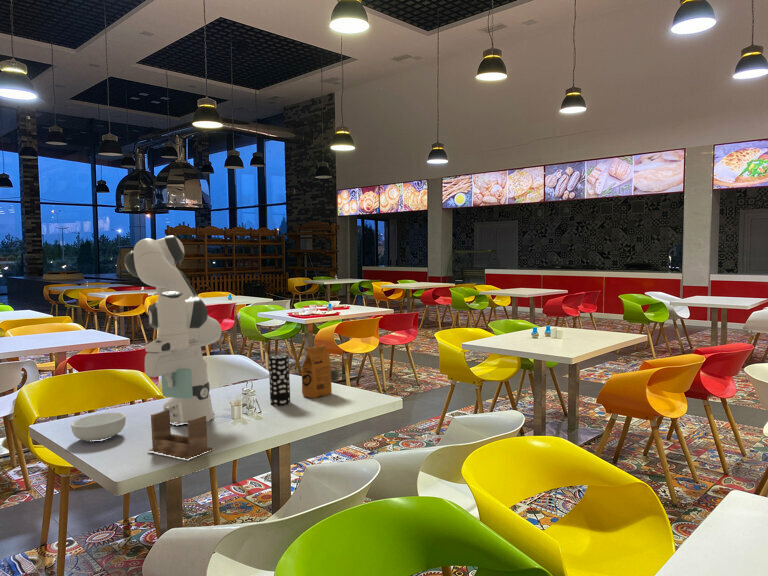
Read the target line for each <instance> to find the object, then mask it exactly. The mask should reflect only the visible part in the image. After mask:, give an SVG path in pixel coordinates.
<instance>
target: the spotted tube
mask: <svg viewBox="0 0 768 576" xmlns="http://www.w3.org/2000/svg"><path fill="white" fill-rule="evenodd" d="M289 358H290V357H289V355H287V354H286V355H285V354H278V355H271V356H269V357H268V374H269V375H268V376H269V396H270V397H269V398H270V406H273V407H282V406H283V407H284V406H288V405H290V404H291V386H290V385H291V384H290V383H291V382H290V361H289V360H290V359H289Z"/></svg>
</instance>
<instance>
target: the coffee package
mask: <svg viewBox="0 0 768 576" xmlns="http://www.w3.org/2000/svg"><path fill="white" fill-rule="evenodd" d="M305 351H306V356H305V360H304V361H303V364H302V367H301V394H302V396H303V397H306V398H309V399H317V398H319V397H325V396H328V395H330V394H332V391H333V390H332V367H331V360H330V359H331V358H330V356H329V353H328V350H327V348H326V345H325V344H321V345H320V346H318V347H306V348H305Z"/></svg>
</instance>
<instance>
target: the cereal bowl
mask: <svg viewBox="0 0 768 576" xmlns="http://www.w3.org/2000/svg"><path fill="white" fill-rule="evenodd" d="M126 418H127V417H126V414H124V413H122V412H105V413H97V414H92V415H87V416H84V417H80V418H78V419H76V420H74V421H73V422H71V423H70V425H71V426H70V427H71V432H72V434H73V436H74V437H75V438H76V439H79V440H81V441H87V442H88V441H90V440H91V441H92V440H101V439H106V438H109V437H112V436H113V437H114V436H115V435H117V434H119V433H120V432H122V431H123V429H125V426H126V421H127V420H126ZM113 437H112V438H113Z"/></svg>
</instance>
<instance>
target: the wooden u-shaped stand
mask: <svg viewBox="0 0 768 576" xmlns="http://www.w3.org/2000/svg"><path fill="white" fill-rule="evenodd" d="M150 423H151V424H150V426H151V444H152V448H150V449H148V450H149V451H154V452H158V453H163V454H166V455H171V456H175V457H180V458H185V459H189V458H191V457H194V456H197V455H200V454H202V453H204V452H207V451H210V450H212V451H213V447H209V446H208V430H207V429H208V428H207V422H206V416H205V415H203V416H200V417H197V418H194V419H191V420H188V421H187V423H188V425H187V436H186V435H179V434H173V433H172V431H171V425H170V410H165V411H163V410H161V411H158V412H156V413H152V414H150Z"/></svg>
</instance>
